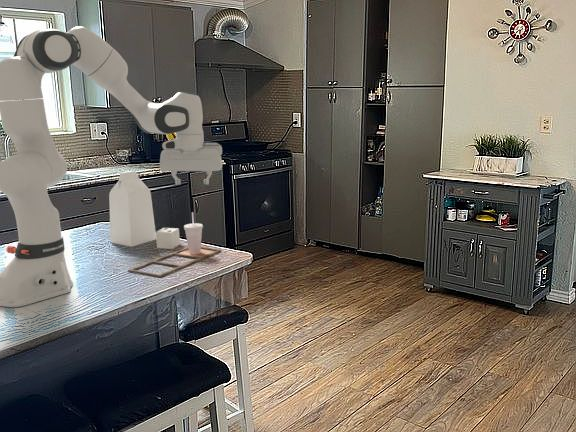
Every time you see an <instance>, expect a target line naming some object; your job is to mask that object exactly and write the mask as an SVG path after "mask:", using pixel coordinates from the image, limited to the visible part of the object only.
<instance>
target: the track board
mask: <svg viewBox="0 0 576 432" xmlns="http://www.w3.org/2000/svg"><path fill="white" fill-rule="evenodd" d="M221 252H222V249H217V248H211V247H204V246H203V247H202V246H201V251H200V254H194V255H193V254H190V253H189V248H188V246H187V247H184V248H182V249H179V250H176V251H173V252H171V253H168V254H166V255H164V256H161V257H158V258H156V259H153V260H150V261H148V262H144V263H142V264H140V265H138V266H135V267H131V268H130V269H129V268H128V270H127V272H128V273H133V274H139V275H143V276H144V275H145V276H149V277H155V278H159V279H160V278H163V277H165V276H167V274H168V275H169V274H172V273H174V271H175V272H176V271H180V270H181V268H182V269H184V268H187V267H188V265H189V266H191V265H194V264H196V263H198V262H200V261H203V260H205V259H208V258H209V257H212V256H215V255H216V254H217V255H218V254H219V253H221ZM173 256H175V257H180V258H187V259H193V260H191V261H189V262H186V263H184V264H181V265H180V264H175V263H167V262H164V261H163V260H165V259H167V258H170V257H173ZM153 264H156V265H161V266H167V267H172V268H171V269H169V270H166V271H164V272H162V273H159V274H158V273H153V272H147V271H143V270H140V269H142V268H145V267H147V265H148V266H150V265H153Z"/></svg>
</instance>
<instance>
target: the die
mask: <svg viewBox="0 0 576 432" xmlns="http://www.w3.org/2000/svg"><path fill="white" fill-rule="evenodd" d="M155 240H156V248H157V249H166V250H167V249H168V250H169V249H170V250H171V249H172V250H173V249H175V248H176V247H178V246H180V244H181V240H180V228H177V227H176V228H175V227H171V228H170V227H162V228H161V229H159V230H157V231H156V239H155Z"/></svg>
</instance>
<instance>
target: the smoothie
mask: <svg viewBox="0 0 576 432" xmlns="http://www.w3.org/2000/svg"><path fill="white" fill-rule="evenodd" d="M194 218H195V217H194V212H193V211H192V212H191V222H192V223H187V224H184V225H183V229H184V232H185V237H186V241H187V247H188V248H189V253H190V254H193V255H194V254H200V251H201V247H202V234H203V228H204V225H203V224H202V223H199V222H196V223H195V220H194Z"/></svg>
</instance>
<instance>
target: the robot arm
mask: <svg viewBox="0 0 576 432" xmlns="http://www.w3.org/2000/svg"><path fill="white" fill-rule="evenodd" d="M70 66H74V67H75V68H77V69H78V70H80V71H81V72H82V73H83V74H84V75H85V76H86V77H88V79H90V80H91V81H93V82H94V83H95V84H96V85H98V86H99V87H101V88H102V89H103V90H105V91H107V93H109V94H110V95H111V96H112V97H113V98H114V99H115V100H116V101H117V102H118V103H119V104H120V105H122V106H123V107H124V108H125V109H126V110H127V111H128V112H129V113H130V114H131V116H132V117H133V119H134V122H135V123H136V125H137V126H138V128H139V129H140V130H141V131H142V132H144V133H146V134H150V135H151V134H152V135H154V134H157V135H158V134H159V135H171V134H175V135H176V137H175V138H172V139H170V140H167V141H164V142H162V144H161V146H162V149H163V150H162V151H161V152H160V155H159V156H160V158H159V168H160V170H161V171H162V172H170V173H171V177H172V178H173V179H174V183H175V186H177V185H178V186H179V185H181V183H182V182H181V181H182V180H181V178H179V177H178V176H177V173H178V172H206V175H207V176H206V178H203V185H208V186H209V184H210V178H211V176H212V174H213V172H219V171H221V170H222V169H223V160H222V155H223V147H222V145H221V144H220V143H218V142H205V139H204V138H205V137H204V129H203V120H204V114H203V106H202V105H203V103H202V100H201V98H200V96H199V95H198V94H197V93H193V92H188V91H187V92H185V91H178V92H176V93H175V95H173V97H171V98H169V99H167V100H165V101H163V102H160V103H158V102H153V101H149V100H148V99H145V98H144V97H143V95H141V94H140V92H138V91H137V90H136V89H135V88H134V87H133V86H132V85H131V84H130V83H129V81H128V79H127V77H128V76H129V75H128V74H129V67H128V63H127V62H126V60H125V59H124V58H123V57H122V55H121V54H120V53H119V52H118V51H117V50H116V49H115V48H114V47H112V46H111V45H110V44H109V43H108V42H107V41H105V40H104V39H103V38H101V36H99V35H98V34H96V32H95V33H94V31H92V30H90V29H89V28H87V27H85V26H81V25H80V26H79V25H78V26H75V27H72V28H71V29H69V30H68V31H62V30H59V29H55V28H47V29H42V30H40V29H39V30H36V31H33V32H31V33H30V34H27V35H25V36H24V37H22V39H20V41H19V43H18V45H17V47H16V49H15V52H14V54H13V56H10V57H5V58H4V59H2V60H0V120H1V125H2V130H3V132H4V133H5V134H6V136H8V138H10V140H11V141H12V143H13V145H14V147H15V149H16V151H17V154H13V155H10V156H8V157H6V158H4V159H3V160H2V161H0V191H1V192H2V194H4V195H5V197H7V199H8V201H9V203H10V205H11V208H12V210H13V213H14V217H15V222H16V228H17V235H18V242H17V245H16V246H12V245H8V246H7V247H6V248H5V250H6V253H8V254H14V258H13V259H12V260H11V261H10V262H9V263H8V264H7V266H6V267H4V269H3V270H2V271H1V272H0V307H6V308H7V307H8V308H20V307H24V306H27V305H31V304H33V303H39V302H40V301H45V300H47V299H52V298H54V297H57V296H61V295H64V294H67V293H70V292H71V288H72V287H73V284H74V283H73V281H72V278H71V276H70V272H69V269H68V266H67V263H66V257H65V242H64V237H63V236H62V228H61V220H60V212H59V210H58V208H56V207H55V206H54V205H53V203H52V201H51V199H50V196H49V193H48V189H49V188H51V187H54V186H56V185H57V184H58V183H60V182H61V180H62V179H64V177H65V176H66V175H67V173H68V164H67V162H66V159H65V157H64V156H63V155H62V154H61V153H60V152H59V151H58V148H57V146H56V143H55V141H54V140H53V137H52V135H51V132H50V129H49V126H48V120H47V114H46V107H45V103H44V102H45V101H44V96H43V92H42V91H43V90H42V80H43V77H44V75H45V74H53V73H56V72H58V71H59V72H60V71H63V70H65V69H67V68H68V67H70Z"/></svg>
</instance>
